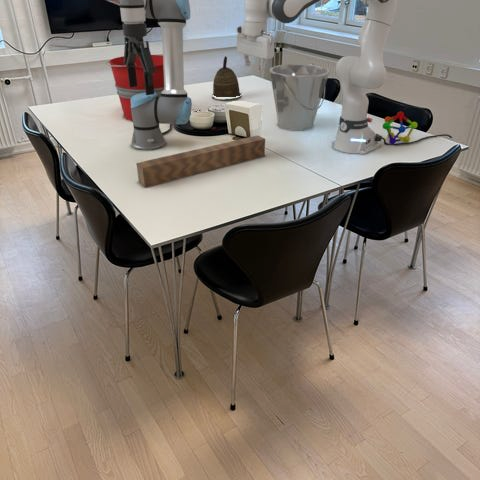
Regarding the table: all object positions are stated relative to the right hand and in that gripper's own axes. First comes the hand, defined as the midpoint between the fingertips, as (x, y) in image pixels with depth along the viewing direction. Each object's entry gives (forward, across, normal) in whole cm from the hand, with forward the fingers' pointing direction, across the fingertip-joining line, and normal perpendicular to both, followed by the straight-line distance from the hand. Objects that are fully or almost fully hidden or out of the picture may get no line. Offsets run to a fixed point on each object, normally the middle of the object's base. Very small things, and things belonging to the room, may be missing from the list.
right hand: (254, 67), depth 176 cm
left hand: (+2, 0, +49) cm, 49 cm away
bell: (+37, +91, -47) cm, 109 cm away
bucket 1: (+37, +84, +12) cm, 92 cm away
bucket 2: (+37, +23, -45) cm, 63 cm away
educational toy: (+37, -25, -66) cm, 80 cm away
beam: (+37, 0, +24) cm, 44 cm away
